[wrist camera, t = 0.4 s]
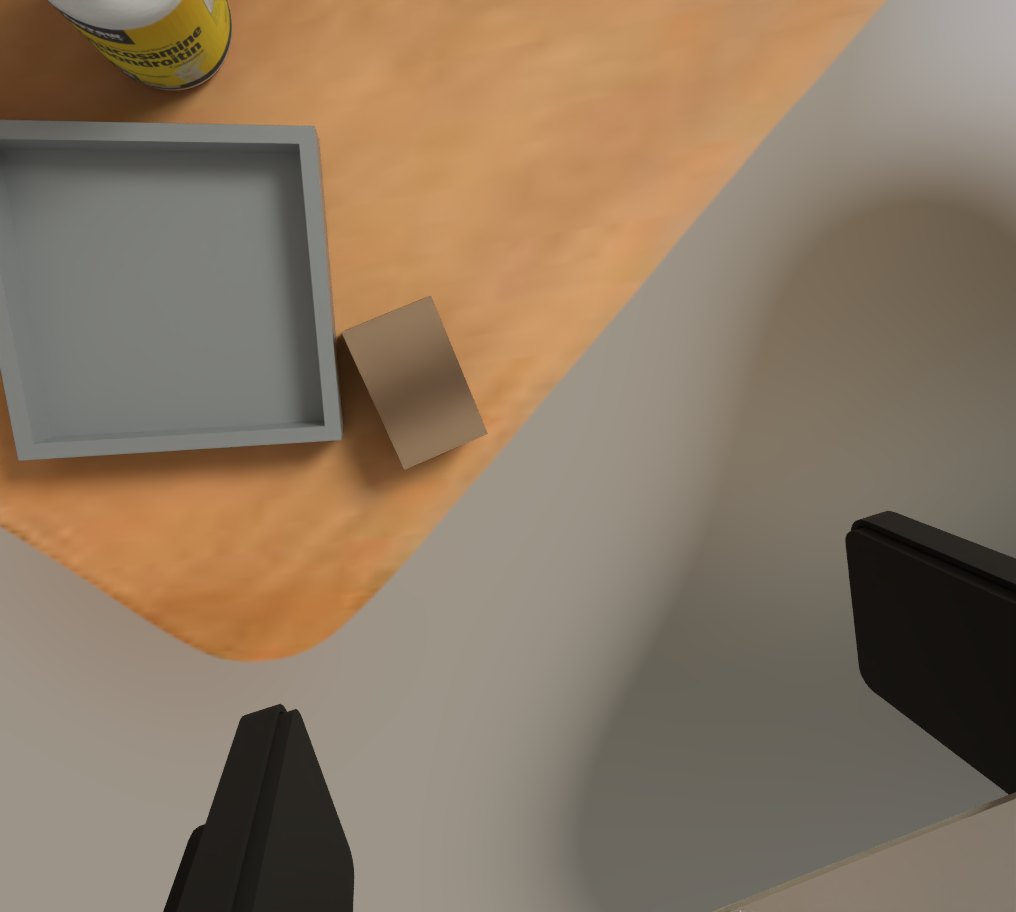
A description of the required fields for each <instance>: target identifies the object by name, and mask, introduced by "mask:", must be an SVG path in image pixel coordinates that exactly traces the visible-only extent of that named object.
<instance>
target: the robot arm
mask: <svg viewBox="0 0 1016 912" xmlns="http://www.w3.org/2000/svg"><path fill="white" fill-rule="evenodd" d="M846 552H847V560H848V569H849V579H850V588H851V597H852V607H853V615H854V625H855V634H856V642H857V652H858V661H859V669H860V672H861V675H862V677H863V679H864V681H865V683H866V684H867V685H868V687H869V688H870V689H871V690H872V691H873V692H875V693H876V694H877V695H879V696H880V697H881V698H883V699H884V700H885V701H887V702H888V703H889V704H891V705H892V706H893V707H895V708H896V709H897V710H898V711H900V712H901V713H902V714H904V715H905V716H906V717H908V718H909V719H910V720H912V721H913V722H914V723H916V724H917V725H918V726H920V727H921V728H922V729H924V730H925V731H926V732H927V733H929V734H930V735H931V736H933V737H934V738H935V739H937V740H938V741H939V742H941V743H942V744H943V745H945V746H946V747H947V748H948V749H950V750H951V751H952V752H954V753H955V754H956V755H958V756H959V757H960V758H962V759H963V760H964V761H966V762H967V763H968V764H970V765H971V766H972V767H974V768H975V769H976V770H977V771H979V772H980V773H981V774H983V775H984V776H986V777H987V778H988V779H989V780H991V781H992V782H993V783H995V784H996V785H997V786H999V787H1000V788H1001V789H1002V790H1004V791H1005V792H1006V793H1008V794H1009V795H1008V796H1005V797H1003V798H1000V799H997V800H995V801H992V802H990V803H987V804H984V805H982V806H979V807H977V808H974V809H971V810H969V811H966V812H964V813H961V814H959V815H956V816H953V817H951V818H948V819H946V820H943V821H940V822H938V823H935V824H933V825H930V826H928V827H925V828H923V829H920V830H918V831H915V832H913V833H910V834H907V835H905V836H902V837H900V838H897V839H895V840H892V841H890V842H887V843H885V844H882V845H880V846H877V847H874V848H872V849H869V850H867V851H864V852H862V853H859V854H857V855H854V856H852V857H849V858H846V859H844V860H841V861H839V862H837V863H834V864H831V865H829V866H826V867H824V868H821V869H819V870H816V871H814V872H811V873H809V874H806V875H804V876H801V877H799V878H796V879H794V880H791V881H789V882H786V883H784V884H781V885H779V886H776V887H773V888H771V889H768V890H766V891H763V892H761V893H758V894H756V895H753V896H751V897H748V898H746V899H743V900H741V901H739V902H736V903H733V904H731V905H728V906H726V907H723V908H720V909H718V910H716V911H713V912H1016V559H1015V558H1013V557H1010V556H1007V555H1005V554H1002V553H999V552H997V551H994V550H992V549H989V548H986V547H984V546H981V545H979V544H976V543H973V542H971V541H968V540H966V539H963V538H960V537H958V536H955V535H952V534H950V533H947V532H945V531H942V530H940V529H937V528H934V527H932V526H929V525H926V524H924V523H921V522H919V521H916V520H913V519H911V518H908V517H906V516H903V515H900V514H898V513H895V512H892V511H886V512H882V513H879V514H876V515H872V516H869V517H866V518H863V519H860V520H857V521H855V522H854V523H853V525H852V528H851V531H850V532H849V533H848V534H847V535H846ZM353 894H354V867H353V860H352V855H351V851H350V848H349V845H348V842H347V839H346V837H345V834H344V831H343V829H342V826H341V823H340V820H339V818H338V815H337V812H336V809H335V807H334V804H333V801H332V799H331V796H330V793H329V791H328V787H327V785H326V782H325V779H324V777H323V774H322V771H321V768H320V766H319V763H318V760H317V757H316V755H315V752H314V749H313V746H312V744H311V741H310V738H309V735H308V733H307V730H306V728H305V725H304V722H303V719H302V717H301V714H300V713H299V711H298V710H297V709H295V710H292V711H289V712H287V711H286V709H285V707H284V706H283V705H281V704H278V705H275V706H272V707H269V708H266V709H263V710H260V711H256V712H253V713H250V714H247V715H244V716H242V718H241V719H240V722H239V725H238V728H237V731H236V734H235V737H234V740H233V743H232V746H231V749H230V752H229V755H228V758H227V761H226V764H225V767H224V770H223V773H222V776H221V779H220V782H219V785H218V788H217V791H216V794H215V797H214V800H213V803H212V806H211V809H210V812H209V815H208V818H207V821H206V824H204V825H201V826H199V827H198V828H196V829H195V830H194V831H193V833H192V835H191V837H190V838H189V841H188V843H187V846H186V849H185V852H184V855H183V858H182V860H181V863H180V866H179V869H178V872H177V874H176V877H175V880H174V883H173V886H172V889H171V891H170V894H169V897H168V900H167V903H166V905H165V908H164V911H163V912H353Z"/></svg>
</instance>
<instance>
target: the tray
mask: <svg viewBox="0 0 1016 912" xmlns="http://www.w3.org/2000/svg"><path fill="white" fill-rule="evenodd" d="M0 370H1V375H2V380H3V385H4V390H5V395H6V400H7V405H8V410H9V415H10V420H11V426H12V431H13V436H14V441H15V446H16V451H17V456H18V461H22V460H38V459H54V458H69V457H85V456H100V455H116V454H131V453H147V452H163V451H178V450H194V449H209V448H225V447H240V446H256V445H272V444H287V443H303V442H318V441H334V440H342V437H343V433H344V428H343V416H342V404H341V393H340V381H339V369H338V357H337V346H336V334H335V322H334V311H333V299H332V287H331V275H330V264H329V252H328V240H327V228H326V217H325V205H324V193H323V182H322V170H321V158H320V146H319V138H318V135H317V132H316V129H315V126H280V125H232V124H184V123H136V122H88V121H39V120H0Z"/></svg>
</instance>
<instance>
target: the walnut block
mask: <svg viewBox="0 0 1016 912" xmlns="http://www.w3.org/2000/svg"><path fill="white" fill-rule="evenodd" d="M342 335H343V337H344V339H345V341H346V343H347V346H348V348H349V350H350V352H351V354H352V357H353V359H354V361H355V363H356V365H357V367H358V370H359V372H360V374H361V376H362V378H363V381H364V383H365V385H366V387H367V389H368V392H369V394H370V396H371V398H372V400H373V402H374V405H375V407H376V409H377V411H378V413H379V416H380V418H381V420H382V422H383V424H384V427H385V429H386V431H387V433H388V435H389V437H390V440H391V442H392V444H393V446H394V448H395V451H396V453H397V455H398V457H399V459H400V462H401V464H402V466H403V468H404V470H405V469H408V468H410V467H412V466H415V465H417V464H419V463H421V462H424V461H426V460H428V459H431V458H433V457H435V456H438V455H440V454H442V453H445V452H447V451H449V450H451V449H454V448H456V447H458V446H461V445H463V444H465V443H468V442H470V441H472V440H474V439H477V438H479V437H481V436H484V435H486V434H488V433H487V431H486V428H485V426H484V424H483V421H482V419H481V416H480V414H479V411H478V409H477V407H476V404H475V402H474V399H473V397H472V394H471V392H470V390H469V387H468V385H467V382H466V380H465V377H464V375H463V373H462V370H461V368H460V365H459V363H458V360H457V358H456V356H455V353H454V351H453V348H452V346H451V343H450V341H449V339H448V336H447V334H446V331H445V329H444V326H443V324H442V322H441V319H440V317H439V314H438V312H437V309H436V307H435V305H434V302H433V300H432V297H431V296H429V297H426V298H424V299H421V300H419V301H416V302H414V303H412V304H409V305H407V306H404V307H402V308H399V309H397V310H394V311H392V312H389V313H387V314H385V315H382V316H380V317H377V318H375V319H372V320H370V321H367V322H365V323H362V324H360V325H358V326H355V327H353V328H350V329H348V330H345V331H343V332H342Z"/></svg>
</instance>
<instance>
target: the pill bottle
mask: <svg viewBox="0 0 1016 912" xmlns="http://www.w3.org/2000/svg"><path fill="white" fill-rule="evenodd" d="M48 1H49V2H50V3H51V4H52V5H53V6H54V7H55V8H56V9H57V10H58V11H59V12H60V13H61V14H62V15H63V16H64V17H65V18H66V19H67V20H68V21H69V22H70V23H71V24H72V25H73V26H74V27H75V28H76V29H77V30H78V31H79V32H80V33H82V34H83V35H84V36H85V37H86V38H87V39H88V40H89V41H90V42H91V43H92V44H93V45H94V46H95V47H96V48H97V49H98V50H99V51H100V52H101V53H102V54H103V55H104V56H105V57H106V58H107V59H109V60H110V61H111V62H112V63H113V64H114V65H115V66H116V67H117V68H118V69H120V70H121V71H122V72H124V73H125V74H126V75H128V76H129V77H131V78H133V79H134V80H136V81H138V82H140V83H142V84H144V85H147V86H150V87H154V88H158V89H163V90H183V89H188V88H192V87H195V86H198V85H200V84H202V83H204V82H205V81H207V80H208V79H209V78H211V77H212V76H213V75H214V74H215V73H216V72H217V71H218V70H219V69H220V67H221V66H222V64H223V62H224V61H225V59H226V57H227V54H228V51H229V48H230V44H231V37H232V21H231V15H230V10H229V6H228V3H227V0H48Z"/></svg>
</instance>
